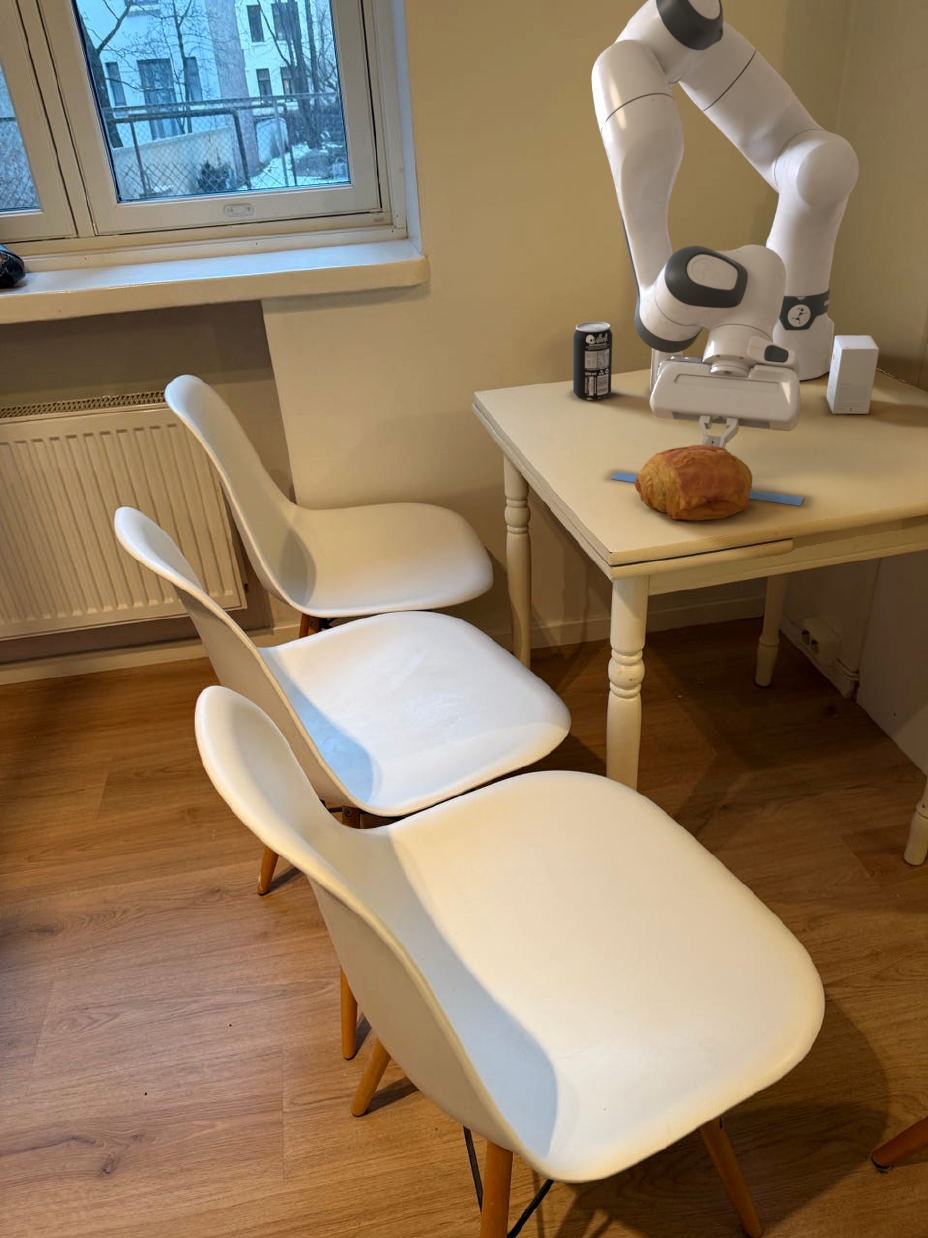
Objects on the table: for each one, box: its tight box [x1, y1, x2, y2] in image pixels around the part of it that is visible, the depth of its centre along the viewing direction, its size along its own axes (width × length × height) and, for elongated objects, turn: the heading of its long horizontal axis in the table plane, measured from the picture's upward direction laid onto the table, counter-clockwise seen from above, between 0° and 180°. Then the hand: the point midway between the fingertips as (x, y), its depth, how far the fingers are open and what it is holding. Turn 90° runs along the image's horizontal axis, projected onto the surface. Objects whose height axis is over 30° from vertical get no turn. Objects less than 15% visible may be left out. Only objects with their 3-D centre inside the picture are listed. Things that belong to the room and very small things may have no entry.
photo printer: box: [649, 348, 684, 394], centre depth 163 cm, size 10×4×12 cm, turn 158°
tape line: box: [611, 472, 805, 507], centre depth 129 cm, size 2×26×1 cm, turn 63°
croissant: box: [634, 444, 753, 522], centre depth 124 cm, size 14×16×8 cm
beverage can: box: [572, 321, 613, 401], centre depth 162 cm, size 7×7×12 cm
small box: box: [825, 334, 880, 415], centre depth 150 cm, size 8×6×10 cm
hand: (712, 450), depth 129 cm, fingers closed
